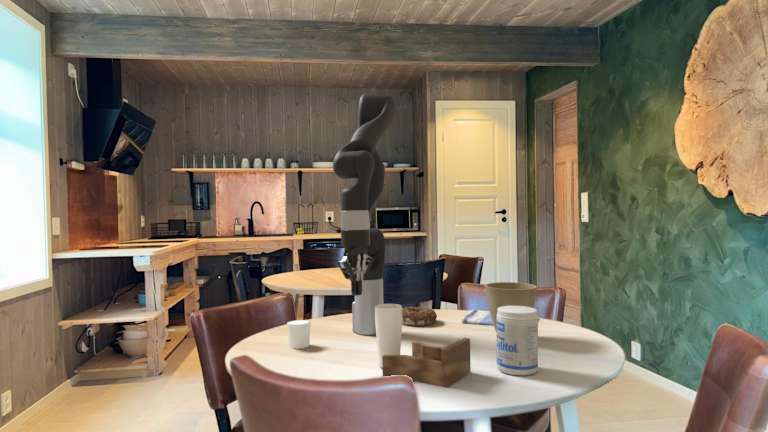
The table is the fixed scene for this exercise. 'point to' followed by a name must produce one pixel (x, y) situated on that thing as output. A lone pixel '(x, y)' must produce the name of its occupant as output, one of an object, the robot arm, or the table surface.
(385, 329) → the drinking glass
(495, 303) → the plant pot
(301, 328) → the white cup
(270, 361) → the table surface
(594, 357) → the table surface
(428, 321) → the donut
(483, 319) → the dish towel
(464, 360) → the holder
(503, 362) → the supplement tub
